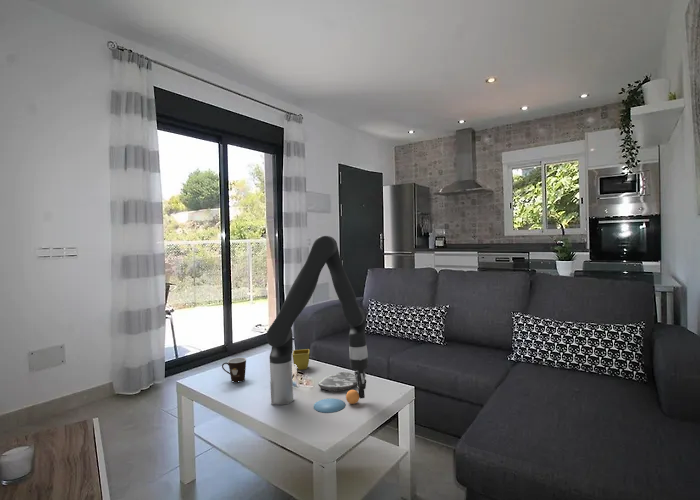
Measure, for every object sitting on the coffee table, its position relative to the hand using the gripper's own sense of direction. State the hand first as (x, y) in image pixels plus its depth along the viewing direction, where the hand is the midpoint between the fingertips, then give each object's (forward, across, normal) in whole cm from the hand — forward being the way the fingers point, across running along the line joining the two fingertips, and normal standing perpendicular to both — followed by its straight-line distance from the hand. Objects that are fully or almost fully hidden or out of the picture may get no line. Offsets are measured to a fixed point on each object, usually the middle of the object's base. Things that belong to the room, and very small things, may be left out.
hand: (361, 397), depth 157 cm
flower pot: (+1, -50, -22) cm, 55 cm away
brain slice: (+2, -21, -6) cm, 22 cm away
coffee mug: (0, -42, -56) cm, 70 cm away
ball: (-1, 0, -4) cm, 4 cm away
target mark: (+1, 0, -14) cm, 14 cm away
